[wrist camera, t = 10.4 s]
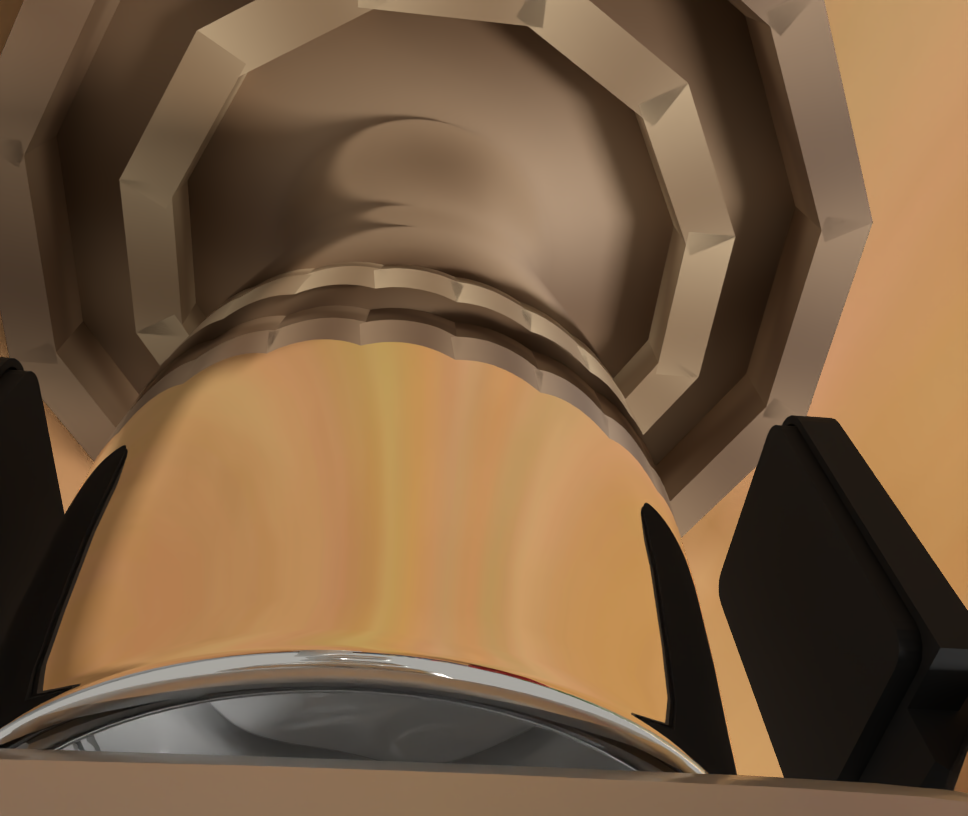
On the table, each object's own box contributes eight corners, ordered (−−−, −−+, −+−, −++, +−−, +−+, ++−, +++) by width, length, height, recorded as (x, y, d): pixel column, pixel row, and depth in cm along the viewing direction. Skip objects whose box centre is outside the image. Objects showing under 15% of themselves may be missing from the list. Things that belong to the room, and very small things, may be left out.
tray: (-43, -284, 15) (-128, -314, 13) (935, -155, 17) (1009, -162, 14) (87, 525, 24) (50, 589, 22) (712, 563, 26) (737, 627, 24)
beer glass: (353, 430, 22) (211, 1206, 9) (196, 180, 19) (-387, 843, 6) (613, 324, 21) (884, 1051, 8) (495, 34, 17) (623, 463, 4)
